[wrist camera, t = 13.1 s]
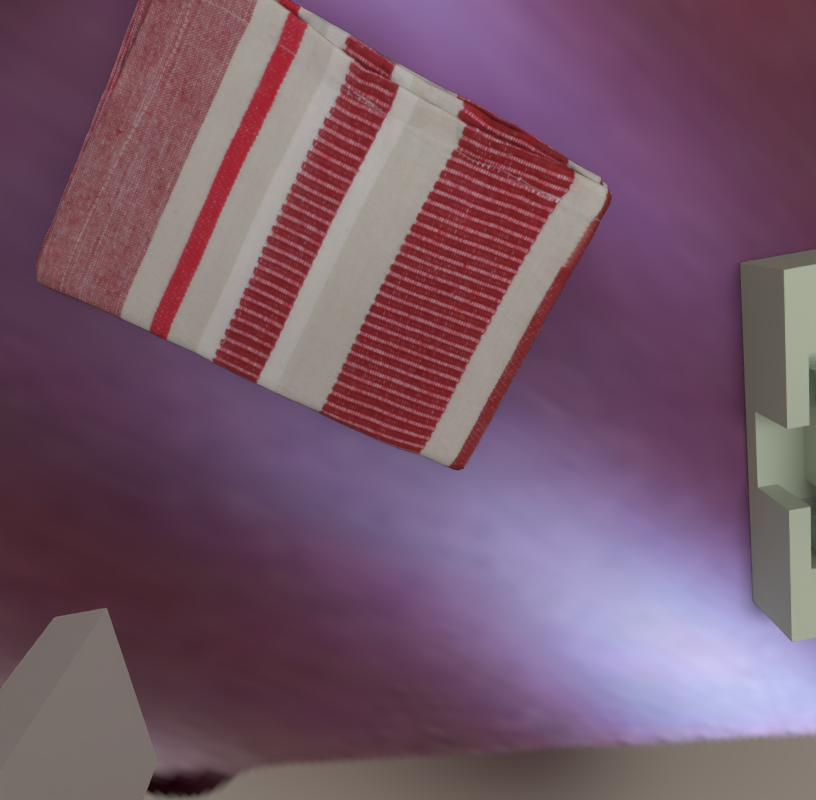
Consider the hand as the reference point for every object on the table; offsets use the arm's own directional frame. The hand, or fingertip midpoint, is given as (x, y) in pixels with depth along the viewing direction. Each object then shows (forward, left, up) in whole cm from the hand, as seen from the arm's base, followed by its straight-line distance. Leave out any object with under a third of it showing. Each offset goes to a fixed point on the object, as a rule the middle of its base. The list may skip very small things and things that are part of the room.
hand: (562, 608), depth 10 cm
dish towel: (-4, +5, -28) cm, 28 cm away
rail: (+20, -10, -27) cm, 35 cm away
